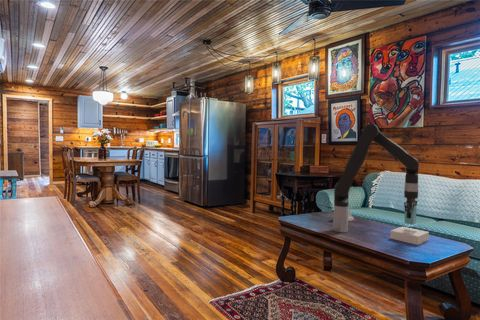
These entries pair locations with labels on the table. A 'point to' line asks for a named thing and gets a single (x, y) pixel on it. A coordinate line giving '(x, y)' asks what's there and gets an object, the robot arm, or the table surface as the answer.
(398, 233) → the block
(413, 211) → the bracket
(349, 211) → the hinge
